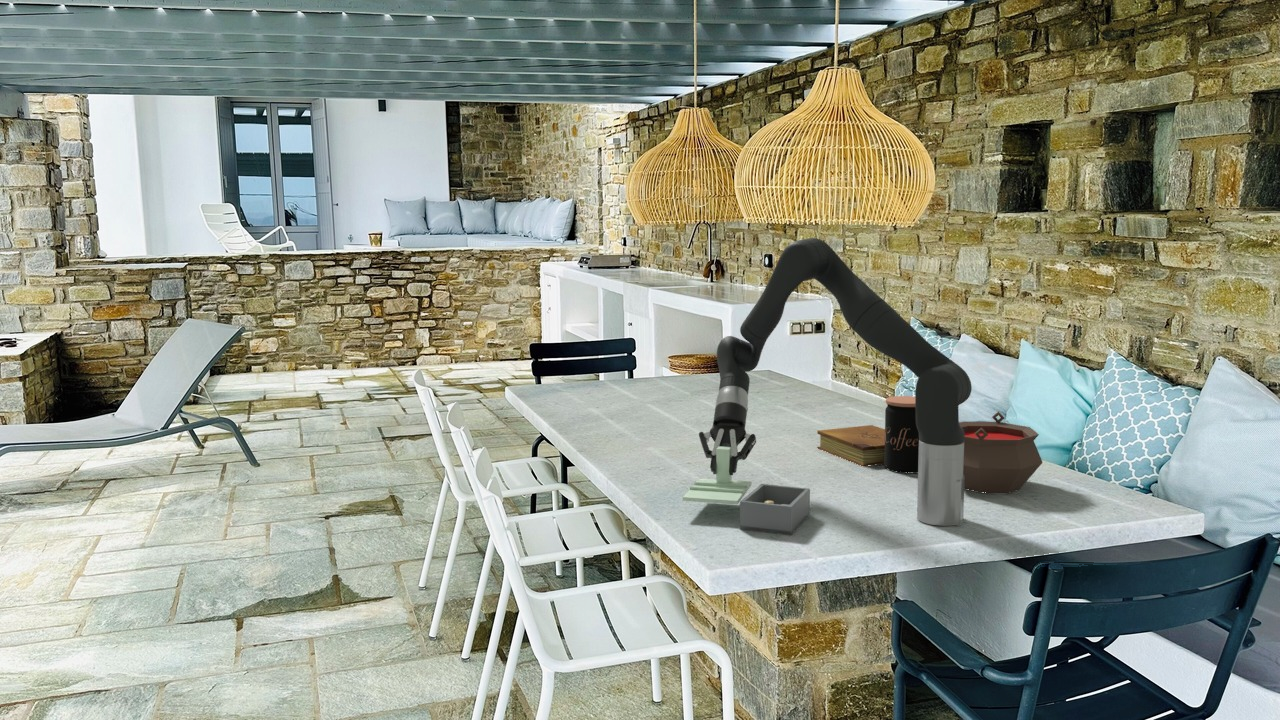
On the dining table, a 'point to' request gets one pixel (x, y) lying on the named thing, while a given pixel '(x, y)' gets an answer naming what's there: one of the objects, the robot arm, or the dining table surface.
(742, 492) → the lid
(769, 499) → the tub
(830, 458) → the dining table surface
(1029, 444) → the brown faceted pot
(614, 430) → the dining table surface
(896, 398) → the coffee jar
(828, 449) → the diary
